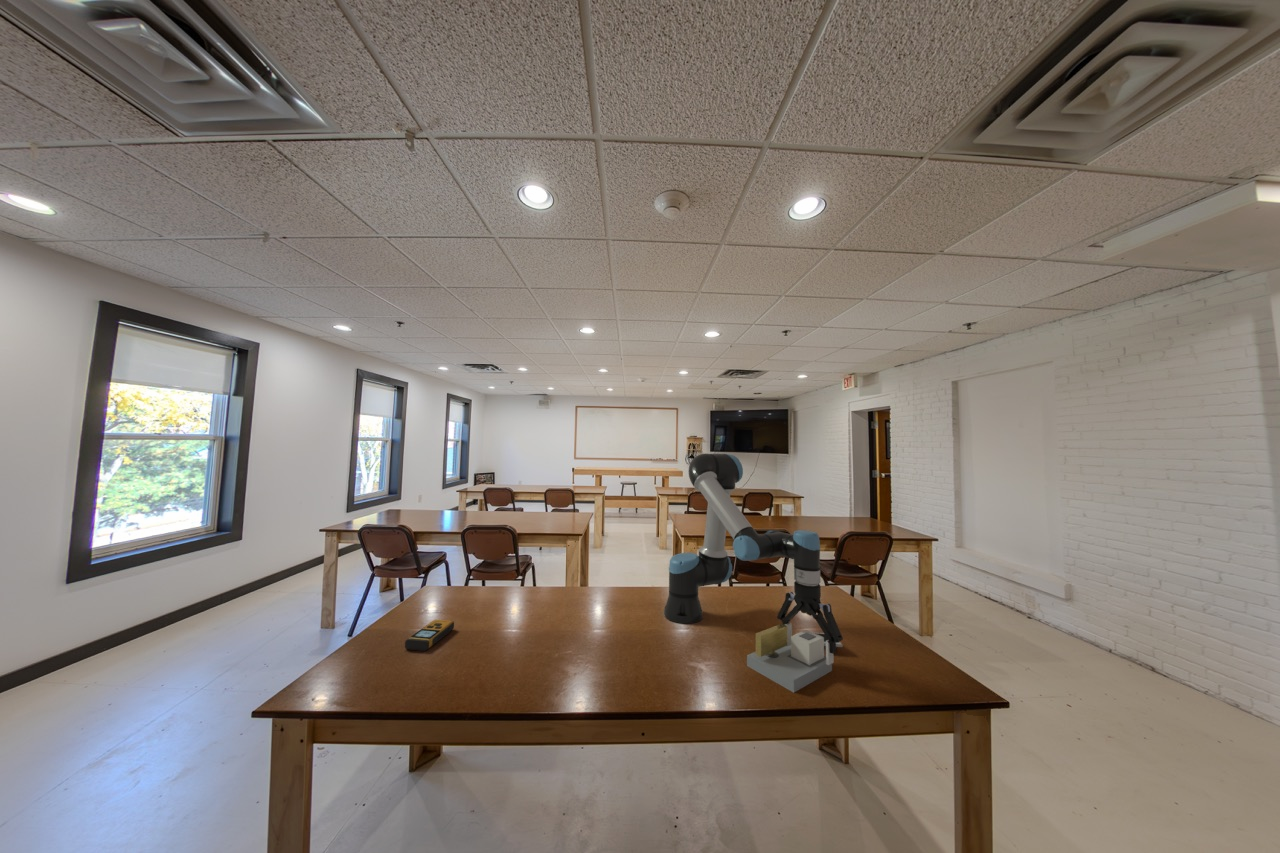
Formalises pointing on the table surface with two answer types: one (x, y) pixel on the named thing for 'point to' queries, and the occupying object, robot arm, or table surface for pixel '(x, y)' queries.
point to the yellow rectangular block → (771, 640)
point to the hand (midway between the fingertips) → (808, 653)
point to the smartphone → (827, 639)
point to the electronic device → (429, 635)
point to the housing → (788, 668)
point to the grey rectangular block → (807, 647)
